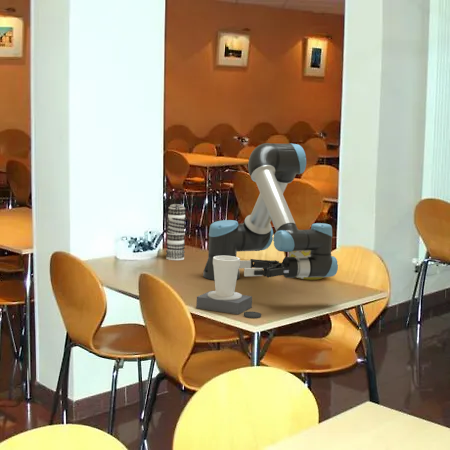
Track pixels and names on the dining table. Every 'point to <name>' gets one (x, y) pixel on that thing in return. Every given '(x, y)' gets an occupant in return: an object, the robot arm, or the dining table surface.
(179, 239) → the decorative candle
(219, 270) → the foam cup
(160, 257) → the dining table surface
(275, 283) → the dining table surface
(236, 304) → the mount
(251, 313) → the lens cap
